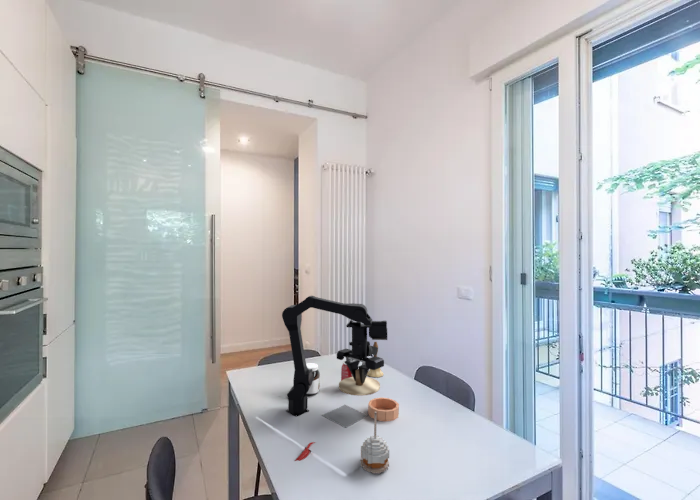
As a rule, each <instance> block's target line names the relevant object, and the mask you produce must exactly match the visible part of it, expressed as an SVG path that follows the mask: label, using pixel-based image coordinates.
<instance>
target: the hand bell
mask: <svg viewBox="0 0 700 500" xmlns="http://www.w3.org/2000/svg"><path fill="white" fill-rule="evenodd" d="M372 346H374V347H378V348H379V345H378V341H374V342H373V345H372ZM378 352H379V350H378V351H377V355H376V357H378ZM374 356H375V355H373V357H374ZM383 376H384V372H383V371H382V370H381V368H378V369H376V370H372V369H369V371H368V373H367V377H369V378H382V377H383Z"/></svg>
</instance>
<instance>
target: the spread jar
mask: <svg viewBox="0 0 700 500" xmlns="http://www.w3.org/2000/svg"><path fill="white" fill-rule="evenodd" d="M306 366H307V368H308V369H309V370H310V369H312V374H313V377H314V380H313V383H312V385H311V387H310V389H309V391H308V392H307V393H306V394H307V397H312V396H316V395H317V394H319V393H320V384H321V383H320V382H321V374H320V370H319V365H318V363H314V362H306Z"/></svg>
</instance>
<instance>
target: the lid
mask: <svg viewBox="0 0 700 500" xmlns="http://www.w3.org/2000/svg"><path fill="white" fill-rule="evenodd" d="M338 389H339V390H340V391H341V392H342V393H344V394H346V395H351V396H356V397H357V396H358V397H359V396H360V397H362V396H369V395H373V394H375V393H377V392H378V391H380V390H381V383H380V382H379V380H377V379H375V378H374V377H370V376H366V379H365V382H364V383H363V384H362V383H361V380H360V374H359V368H358V369H356V381H355V380H354V378H353V377H349V378H346V379H343V380H341V379H340V381H339V382H338Z"/></svg>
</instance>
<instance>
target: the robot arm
mask: <svg viewBox="0 0 700 500" xmlns="http://www.w3.org/2000/svg"><path fill="white" fill-rule="evenodd" d="M310 308H312V309H315V310H321V311H325V312H330V313H333V314H338V315H341V316H343V317H345V318H346V319H349V322H347V324H346V325H345V326H346V328H351V341H349V343H348V345H349V346H351V349H349V348H344V349H340V350H338V351H337V352H336V359H337V360H340V361H343V360H344V358H345V364H346V365H347V366H348V368H349V370H350V372H351V374H352V376H353V378H354V380H355V381H356V369H359V374H360V380H361V383H362V384H363V383H364V382H365V379H366V377H368V375H367V373H368V371H369V370H370V369H372V370H376V369H378V368H380V369H381V368H383V367H385V360H384V359H383V358H381V357H379V356H378V353H377V351H378V352H379V346H378V347H374V346H373V345H371V342H370V341H368V337H369V338H370V339H371V340H372V341H388V322H387V320H373V318H372V317H371V316H370V315H369V313H368V308H367V306H366V305H365V304H363V303H355V302H354V303H353V302H352V303H343V302H338V301H336V300H335V301H334V300H330V299H326V298H322V297H317V296H314V295H308V296H307V297H306V298H304V300H302V301H300V302H298V303H297V304H293V305H290V306H287V307H286V308H285V309H283V311H282V312H281V318H282V321H283V324H284V326H285V327H286V329H287V331H288V336H289V341H290V348H291V355H292V361H293V368H294V373H293V380H292V381H293V386H291V388H290V390H289V391H288V392H287V394H286V397H287V399H288V402H287V405H288V406H287V409H285V412H286V413H288V414H290V415H291V416H293V417H300V416H301V415H304V414H307V413H309V412H310V410H309V409H308V396H307V394H306V393H307V392H308V391H309V389H310V387H311V385H312V383H313V380H314V377H313V374H312V369H310V370H309V369H308V368H307V366H306V363H307V360H306V355H305V348H304V343H303V336H302V329H301V326H302V321H303V320H302V318H303V316H302V314H303V313H304V312H305V311H307V310H309V309H310ZM372 355H373V356H372ZM374 355H375V356H374ZM376 355H377V357H376ZM360 362H361V363H362V364H361V365H359V364H360Z"/></svg>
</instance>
